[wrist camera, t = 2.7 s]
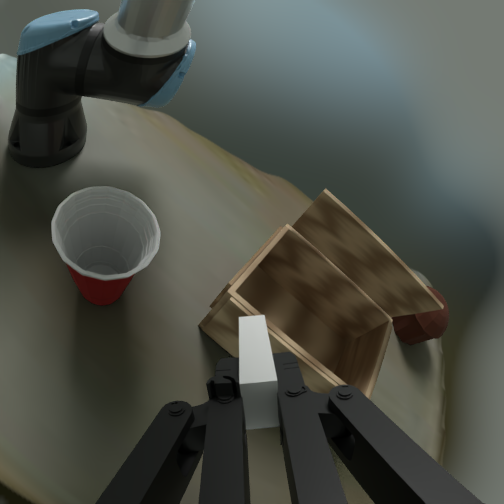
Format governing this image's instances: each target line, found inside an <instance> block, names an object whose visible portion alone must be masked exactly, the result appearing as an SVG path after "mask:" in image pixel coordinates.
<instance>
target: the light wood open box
mask: <svg viewBox="0 0 504 504" xmlns="http://www.w3.org/2000/svg"><path fill="white" fill-rule="evenodd" d="M282 228H283V227H281V226H280V227H279V228H278V229H277V230H276V231H275V233H274V234H273V235H272V236H271V237H270V238H269V239H268V240H267V241H266V242H265V243H264V245H263V246H262V247H261V248H260V249H259V250H258V251H257V252H256V253H255V254H254V256H253V257H252V258H251V259H250V260H249V261H248V262H247V263H246V264H245V265H244V266H243V268H242V269H241V270H240V271H239V272H238V273H237V274H236V275H235V276H234V277H233V278H232V280H231V281H230V282H229V283H228V284H227V285H226V287H225V288H224V289H223V290H222V291H221V293H220V294H219V295H218V296H217V298H216V299H215V300H214V301H213V303H212V304H211V305H210V307H211V308H212V310H211V311H210V312H209V313H208V314H207V316H206V317H205V318H204V319H203V320H202V321H201V323H200V324H199V325H198V326H199V327H201V328H202V330H203V331H204V332H205V333H206V334H207V335H209V336H210V337H211V338H212V339H213V340H214V341H216V342H217V343H218V344H219V345H220V346H222V347H223V348H224V349H225V350H226V351H228V352H229V353H230V354H231V355H232V356H234V357H235V358H236V357H239V317H245V316H256V315H265V320H266V325H267V331H268V336H269V341H270V346H271V351H272V353H281V352H291V353H292V354H294V355H295V356H296V358H297V361H298V364H299V368H300V371H301V374H302V377H303V380H304V383H305V385H306V386H308V387H309V389H310V390H311V391H313V392H317V393H329V392H330V390H331V389H332V388H334V387H336V386H338V385H352V386H355V387H356V388H358V389H359V390H360V391H361V392H362V393H363V394H364V395H365V396H366V397H367V398H368V399H369V400H370V398H371V395H372V392H373V389H374V386H375V383H376V380H377V377H378V374H379V371H380V368H381V365H382V362H383V359H384V355H385V352H386V348H387V345H388V341H389V338H390V334H391V330H392V326H391V324H392V319H391V318H390V317H389V316H388V315H387V314H386V313H385V312H384V311H383V310H382V309H381V308H380V307H379V306H378V305H377V304H376V303H375V302H374V301H372V300H371V299H370V298H369V297H368V296H367V295H366V294H365V293H364V292H363V291H362V290H361V289H360V288H359V287H358V286H356V285H355V284H354V283H353V282H352V281H351V280H350V279H349V278H348V277H347V276H346V275H344V274H343V273H342V272H341V271H340V270H339V269H338V268H337V267H336V266H335V265H334V264H332V263H331V262H330V261H329V260H328V259H327V258H326V257H325V256H324V255H322V254H321V253H320V252H319V251H318V250H317V249H316V248H315V247H313V246H312V245H311V244H310V243H309V242H308V241H307V240H306V239H304V238H303V237H302V236H301V235H300V234H299V233H298V232H296V231H295V230H294V229H293V228H292V227H291V226H290V225H288V224H286V226H285V227H284V228H283V229H282ZM277 234H278V235H277Z"/></svg>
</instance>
